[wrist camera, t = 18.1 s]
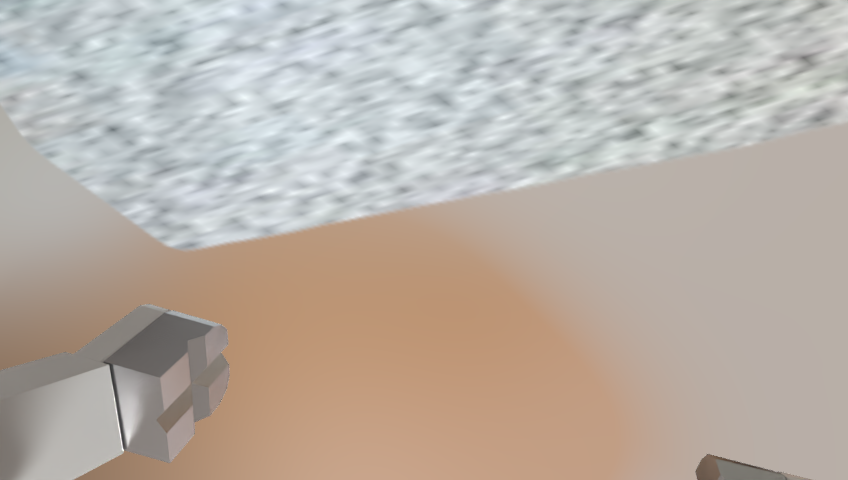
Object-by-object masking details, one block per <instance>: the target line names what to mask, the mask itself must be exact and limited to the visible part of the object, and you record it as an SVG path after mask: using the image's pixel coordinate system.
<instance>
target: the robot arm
mask: <svg viewBox="0 0 848 480" xmlns="http://www.w3.org/2000/svg"><path fill="white" fill-rule="evenodd" d="M227 345H228V335H227V329H226V328H225V327H224V326H222V325H221V324H218V323H214V322H211V321H207V320H204V319H201V318H197V317H193V316H190V315H187V314H183V313H180V312H176V311H171V310H167V309H164V308H161V307H158V306H154V305H151V304H146V305H140V306H139V307H137V308H136V309H134V310H133V311H132V312H130V313H129V314H128V315H126V316H125V317H124V318H122V319H121V320H120V321H118V322H117V323H115V324H114V325H113V326H111V327H110V328H108V329H107V330H106V331H104V332H103V333H102V334H100V335H99V336H98V337H96V338H95V339H94V340H92V341H91V342H89V343H88V344H87V345H85V346H84V347H83V348H81V349H80V350H78V351H77V352H76V353H74V354H71V353H67V352H64V353H60V354H57V355H53V356H50V357H46V358H42V359H39V360H35V361H32V362H28V363H25V364H21V365H18V366H14V367H11V368H7V369H4V370H0V480H74V479H75V478H77V477H79V476H81V475H83V474H85V473H87V472H89V471H90V470H92V469H94V468H96V467H98V466H100V465H102V464H104V463H106V462H107V461H109V460H111V459H113V458H115V457H117V456H119V455H121V454H123V452H124V451H123V450H125V451H129V452H132V453H136V454H139V455H143V456H147V457H150V458H154V459H157V460H161V461H164V462H168V463H170V462H171V461H172V460H173V459H174V458H175V457H176V455H177V454H178V453H179V452H180V451H181V450H182V448H183V447H184V446H185V445H186V444H187V442H188V441H189V440H190V439H191V438H192V437H193V435H194V434H195V429H194V422H196V421H199V420H201V419H203V418H206V417H208V416H210V415H211V414H212V413H213V411H214V410H215V409H216V408H217V406H218V405H219V404H220V402H221V400H222V398H223V396H224V394H225V391H226V389H227V385H228V380H229V364H228V362H227V361H226V359H225V358H224V356H223V355H222V353H221V352H222V351H223V350H224V348H225V347H226V346H227ZM696 476H697V480H811V479H807V478H803V477H799V476H794V475H791V474H787V473H782V472H775V471H772V470H768V469H764V468H761V467H757V466H753V465H749V464H745V463H741V462H737V461H734V460H730V459H726V458H722V457H718V456H714V455H710V454H707V455H706V456H705V457H704V458H702V460H701V461H700V463H699V465H698V467H697V469H696Z"/></svg>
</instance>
